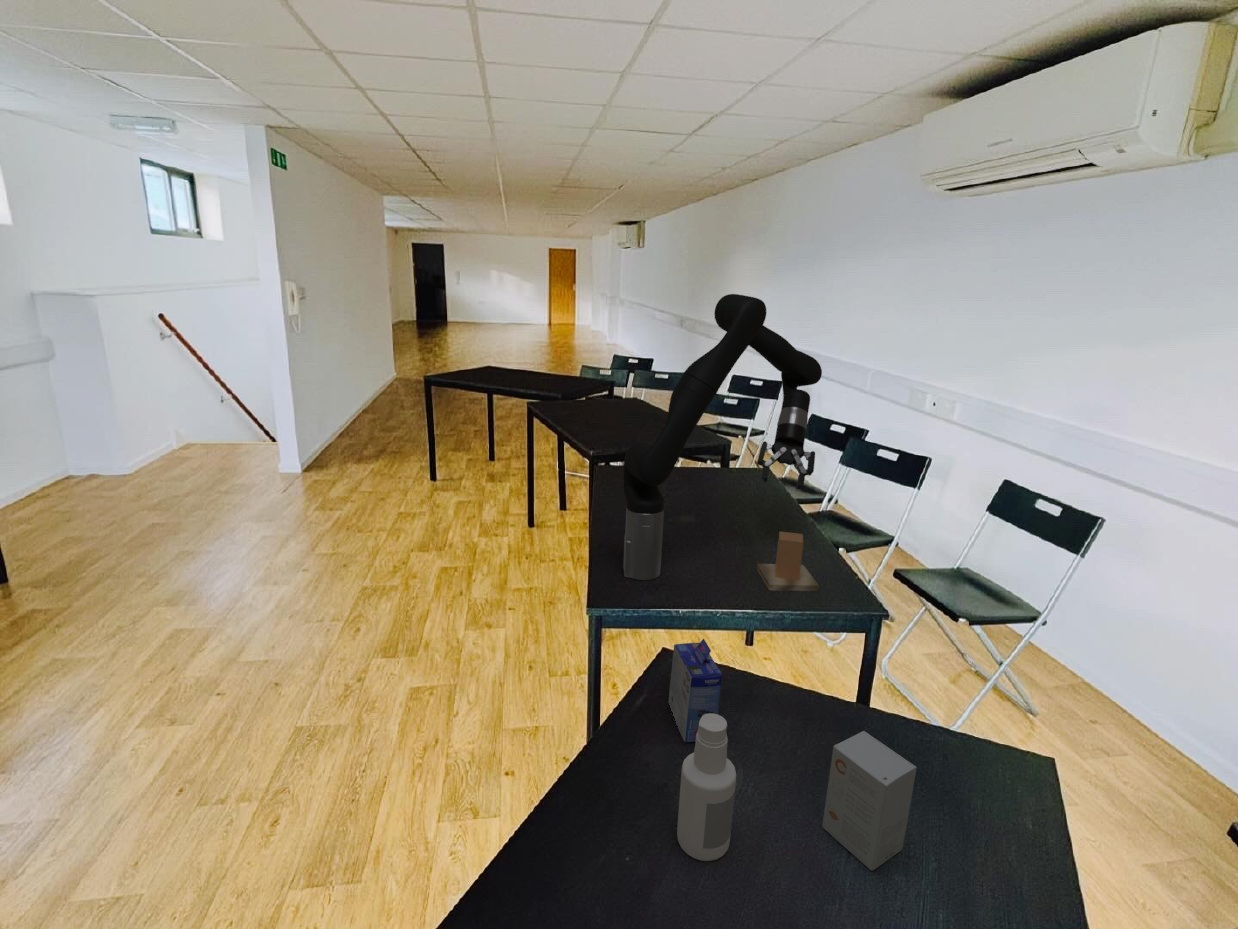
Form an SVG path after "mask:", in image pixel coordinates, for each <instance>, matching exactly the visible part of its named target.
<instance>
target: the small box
mask: <svg viewBox="0 0 1238 929" xmlns="http://www.w3.org/2000/svg"><path fill="white" fill-rule="evenodd" d="M828 774H829V776H828V784H827V789H826V795H825V797H826V798H825V801H824V802H825V803H824V810H823V817H822V823H821V828H822V829H823V830H825V831H826V832H827V833H828V834H829V835H830V836H832V838H833V839H835V840H836V841H837V842H838V843H839V844H840V845H841V846H842V847H844V848H845V849H846V850H847V851H848V852H850V854H852V855H853V856H854V857H855V858H856V859H857V860H858V861H859V862H861V863H862V864H863V865H864V866H865V867H866V868H867V869H869V871H871V872H873V871H874V870H876V869H877V868H879V867H880V866H882V865H883V864H885V863H886V862H888V861H889V860H890V859H892V858H893V857H894V856H896V855H897V854H898V853H900V852H901V851H902V850H903V847H904V842H905V837H906V832H907V825H908V819H909V814H910V808H911V803H912V796H913V791H914V785H915V780H916V774H917V766H916V765H914V764H913V763H911V762H910V761H909V760H907V759H905V758H904V757H903V756H901V755H900V754H898V753H897V752H895V751H894V750H893V749H891V748H889V747H888V746H887V745H885V744H883V743H882V742H881V741H880V740H878V739H877V738H875V737H873V736H872V735H870V734H869V733H868V732H866V731H865V730H862V731H861V732H858V733H857V734H855V735H853V736H851V737H848V738H847V739H845V740H843V741H841V742H839V743H836V744H833V748H832V754H831V761H830V769H829V773H828Z"/></svg>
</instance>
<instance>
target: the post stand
mask: <svg viewBox="0 0 1238 929" xmlns="http://www.w3.org/2000/svg"><path fill="white" fill-rule="evenodd" d="M775 566H776V563H757V564H756V571H757V573H758V574H759V576H760V578H761V579H762V581H763V583H764V584H765V586H766V588H767V589H768V591H774V592H775V591H778V592H779V591H781V592H784V591H785V592H787V591H788V592H792V591H793V592H818V591H819V587H820V585H819V583H818V582H817V581H816V579H815V578H814V577H813V576H812V574H811V573H810V571H809V570H808V569H807V567H806V566H805V565H804V564H802V563H801V567H800V576H799V580H792V579H784V578H776V577H775Z"/></svg>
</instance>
